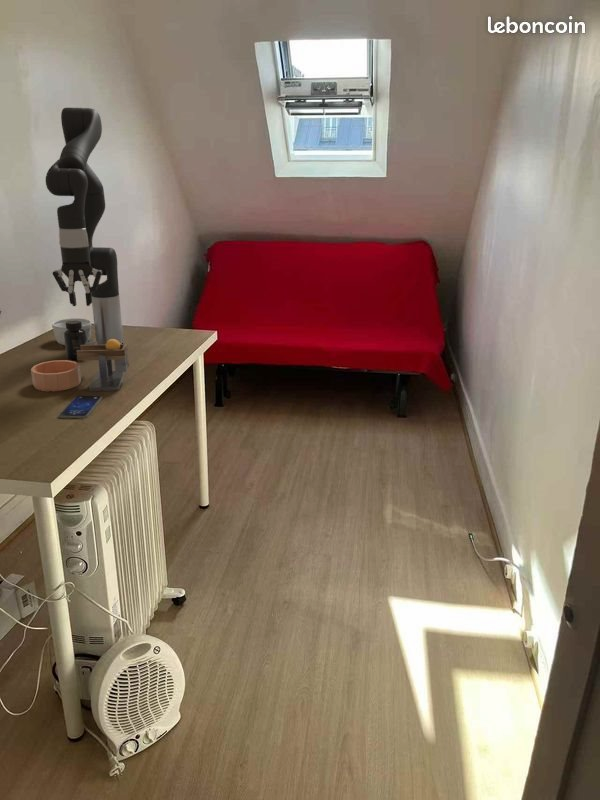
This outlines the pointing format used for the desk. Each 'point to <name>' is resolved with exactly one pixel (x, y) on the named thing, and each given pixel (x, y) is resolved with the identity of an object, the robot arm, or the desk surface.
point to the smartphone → (80, 407)
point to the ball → (112, 344)
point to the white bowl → (60, 328)
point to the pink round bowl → (56, 375)
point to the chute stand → (106, 376)
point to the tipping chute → (93, 350)
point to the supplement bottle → (74, 338)
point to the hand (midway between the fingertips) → (81, 305)
